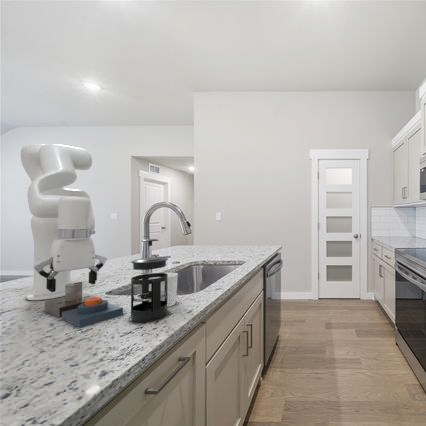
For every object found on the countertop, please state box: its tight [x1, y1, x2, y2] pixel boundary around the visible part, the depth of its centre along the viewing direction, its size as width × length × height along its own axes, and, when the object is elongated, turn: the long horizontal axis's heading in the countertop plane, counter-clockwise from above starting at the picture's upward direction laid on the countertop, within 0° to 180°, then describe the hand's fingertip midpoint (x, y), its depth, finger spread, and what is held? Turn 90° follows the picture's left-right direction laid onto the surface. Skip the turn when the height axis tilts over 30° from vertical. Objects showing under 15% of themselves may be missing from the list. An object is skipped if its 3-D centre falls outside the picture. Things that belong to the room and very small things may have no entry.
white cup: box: [151, 272, 179, 308], centre depth 85 cm, size 8×8×10 cm
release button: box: [85, 296, 102, 306], centre depth 75 cm, size 4×4×2 cm
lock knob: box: [64, 281, 83, 302], centre depth 81 cm, size 4×4×5 cm
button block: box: [61, 299, 124, 329], centre depth 75 cm, size 12×10×4 cm
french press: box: [129, 238, 169, 324], centre depth 74 cm, size 12×9×23 cm
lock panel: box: [44, 292, 103, 319], centre depth 81 cm, size 12×10×3 cm
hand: (73, 287), depth 82 cm, fingers open, 9 cm apart
